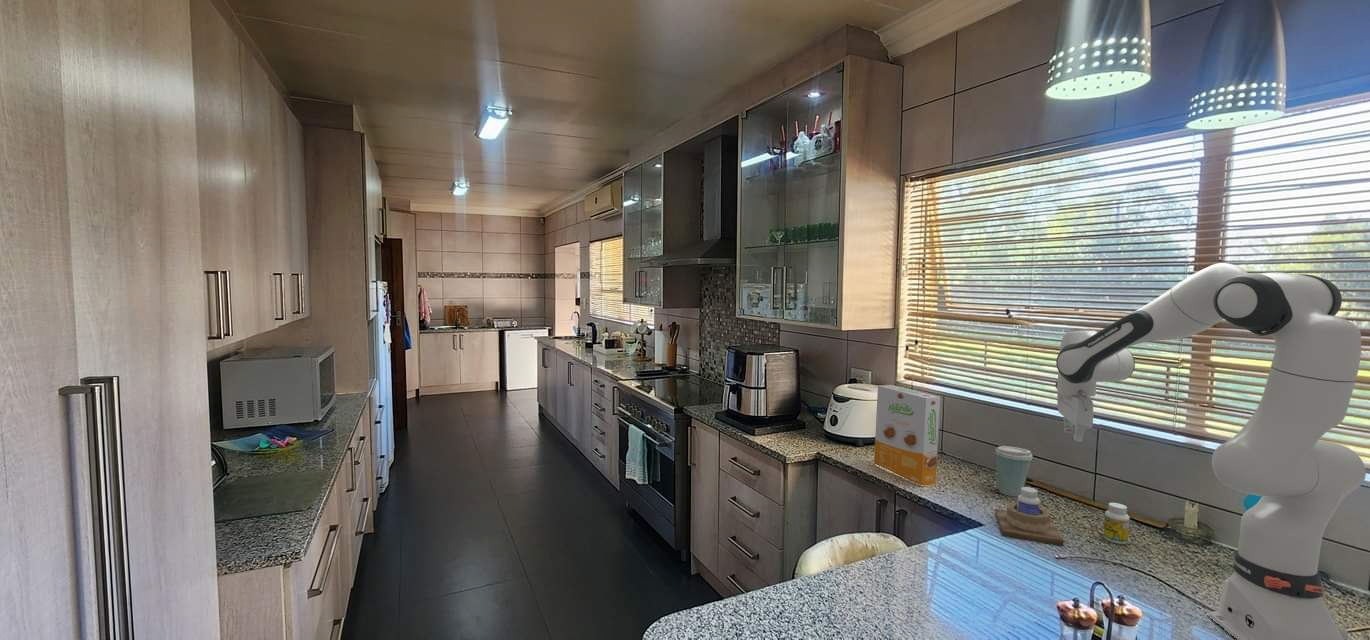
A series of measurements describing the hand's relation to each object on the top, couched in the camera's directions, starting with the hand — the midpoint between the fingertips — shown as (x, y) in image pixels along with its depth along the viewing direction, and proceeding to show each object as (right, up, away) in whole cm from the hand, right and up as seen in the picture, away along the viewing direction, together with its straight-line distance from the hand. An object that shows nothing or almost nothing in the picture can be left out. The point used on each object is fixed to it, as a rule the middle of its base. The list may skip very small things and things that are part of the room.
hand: (1073, 436), depth 160 cm
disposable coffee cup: (-1, -24, +28) cm, 37 cm away
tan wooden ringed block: (-12, -26, +1) cm, 29 cm away
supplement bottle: (+8, -27, -5) cm, 29 cm away
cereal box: (-31, -23, +43) cm, 58 cm away
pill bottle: (-12, -25, +1) cm, 27 cm away
